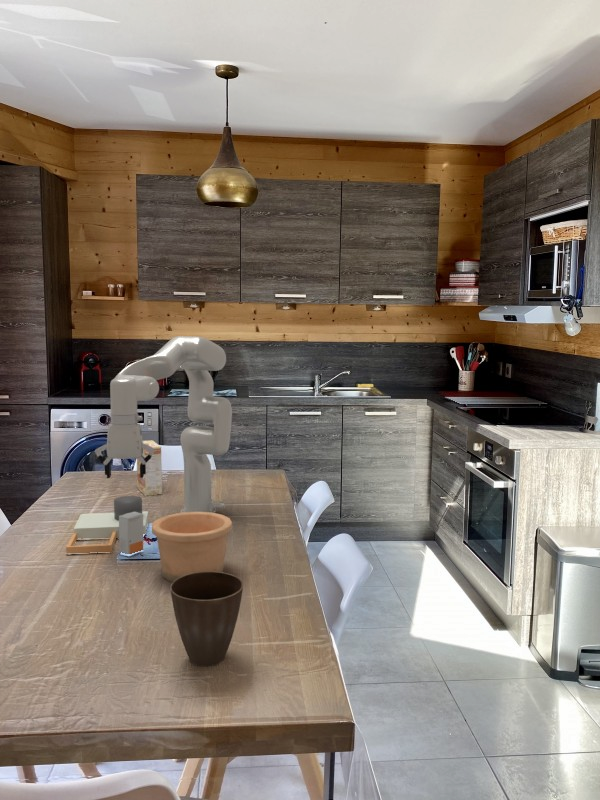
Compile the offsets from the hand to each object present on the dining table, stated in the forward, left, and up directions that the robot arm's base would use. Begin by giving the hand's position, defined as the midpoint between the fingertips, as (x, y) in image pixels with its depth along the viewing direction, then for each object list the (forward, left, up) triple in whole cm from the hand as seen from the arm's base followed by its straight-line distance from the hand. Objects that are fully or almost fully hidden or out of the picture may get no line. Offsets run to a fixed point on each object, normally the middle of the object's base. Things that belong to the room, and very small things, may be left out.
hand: (125, 477), depth 204 cm
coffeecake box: (-2, -70, -23) cm, 74 cm away
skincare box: (-1, +2, -23) cm, 23 cm away
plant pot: (-22, +68, -23) cm, 75 cm away
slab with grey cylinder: (+7, -14, -23) cm, 28 cm away
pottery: (-19, +20, -23) cm, 36 cm away
